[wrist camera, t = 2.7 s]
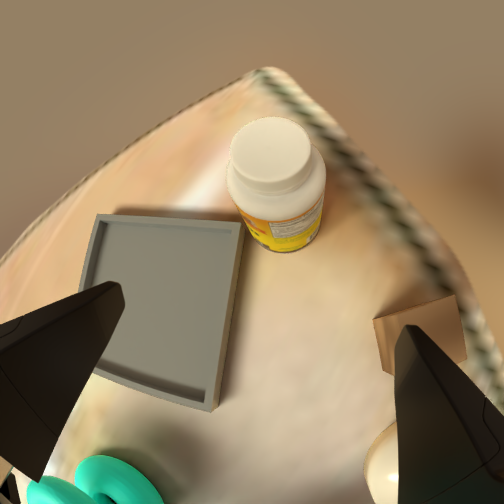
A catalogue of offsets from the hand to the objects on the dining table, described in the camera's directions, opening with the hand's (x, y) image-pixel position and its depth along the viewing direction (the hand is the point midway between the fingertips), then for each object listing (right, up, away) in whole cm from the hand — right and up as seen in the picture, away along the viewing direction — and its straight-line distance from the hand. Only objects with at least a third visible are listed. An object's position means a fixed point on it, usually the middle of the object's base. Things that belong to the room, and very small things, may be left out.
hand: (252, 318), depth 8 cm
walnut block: (+11, -4, +11) cm, 16 cm away
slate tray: (-8, -2, +15) cm, 17 cm away
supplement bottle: (+3, +4, +15) cm, 16 cm away
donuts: (-12, -22, +10) cm, 27 cm away
